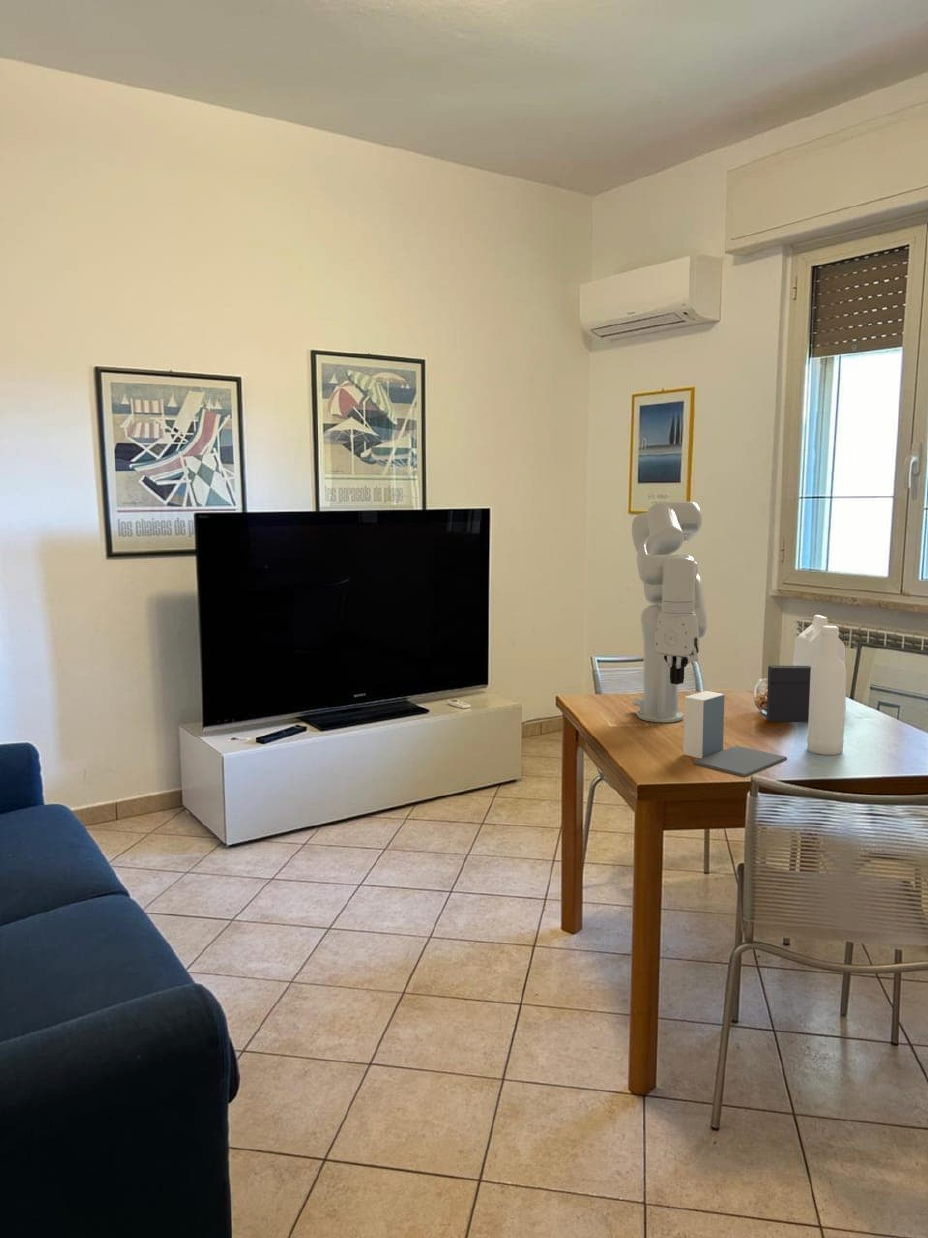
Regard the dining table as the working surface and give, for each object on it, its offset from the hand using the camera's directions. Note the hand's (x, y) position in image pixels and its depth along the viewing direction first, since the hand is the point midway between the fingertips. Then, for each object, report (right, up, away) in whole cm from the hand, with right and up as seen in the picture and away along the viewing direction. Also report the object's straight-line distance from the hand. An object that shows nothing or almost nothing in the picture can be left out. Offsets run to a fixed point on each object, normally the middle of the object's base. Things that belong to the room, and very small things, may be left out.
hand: (676, 683), depth 207 cm
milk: (+52, -10, +42) cm, 67 cm away
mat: (+12, -17, -11) cm, 24 cm away
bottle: (+35, -16, -3) cm, 38 cm away
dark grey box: (+37, -12, +25) cm, 46 cm away
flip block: (+6, -16, -3) cm, 18 cm away
